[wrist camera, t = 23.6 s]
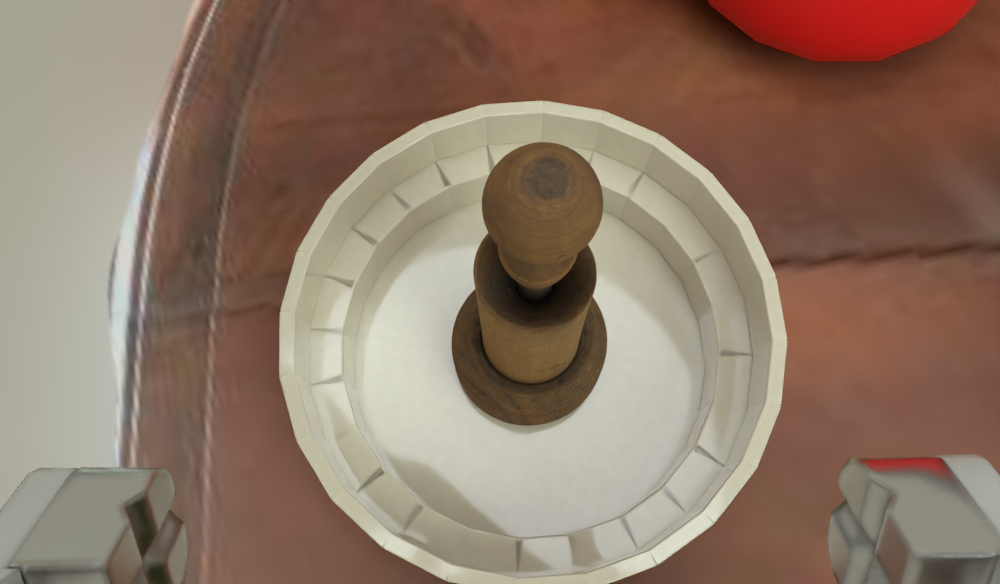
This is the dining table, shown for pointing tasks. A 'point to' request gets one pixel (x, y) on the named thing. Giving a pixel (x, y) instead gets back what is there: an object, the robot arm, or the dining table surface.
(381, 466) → the bowl
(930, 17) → the teapot
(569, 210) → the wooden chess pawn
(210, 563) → the dining table surface
